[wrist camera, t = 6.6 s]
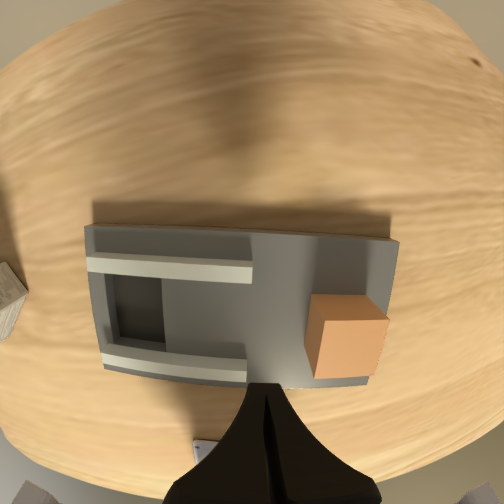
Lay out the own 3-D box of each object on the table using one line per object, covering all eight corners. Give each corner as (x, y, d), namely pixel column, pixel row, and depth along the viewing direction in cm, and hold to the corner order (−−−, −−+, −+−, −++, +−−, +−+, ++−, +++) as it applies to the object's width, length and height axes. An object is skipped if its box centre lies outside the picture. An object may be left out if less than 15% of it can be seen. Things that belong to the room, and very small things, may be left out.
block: (355, 344, 19) (374, 375, 16) (304, 345, 19) (314, 379, 16) (366, 294, 19) (389, 319, 15) (311, 293, 19) (325, 320, 15)
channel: (361, 374, 22) (372, 395, 19) (111, 359, 22) (97, 378, 19) (390, 238, 19) (409, 246, 16) (94, 223, 19) (72, 229, 16)
